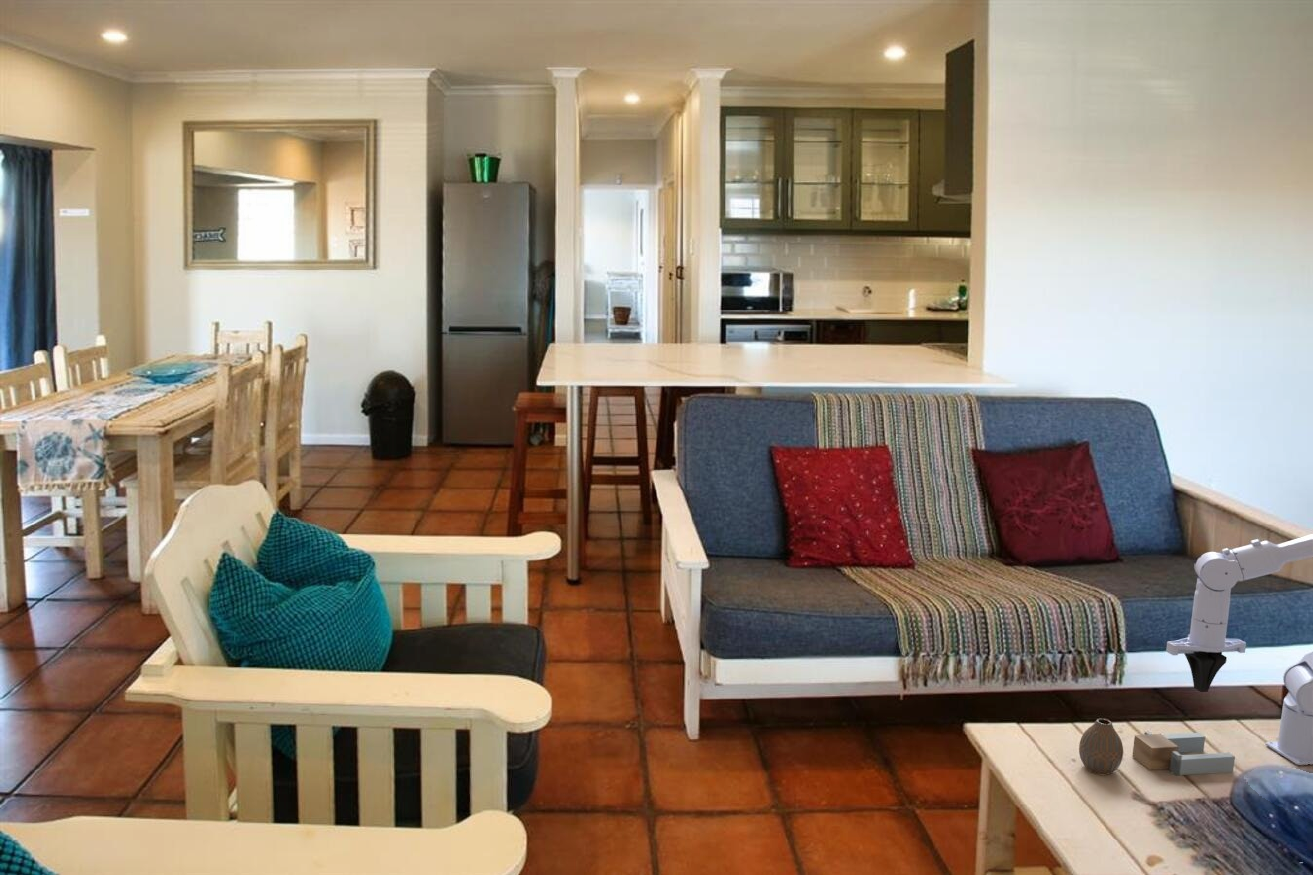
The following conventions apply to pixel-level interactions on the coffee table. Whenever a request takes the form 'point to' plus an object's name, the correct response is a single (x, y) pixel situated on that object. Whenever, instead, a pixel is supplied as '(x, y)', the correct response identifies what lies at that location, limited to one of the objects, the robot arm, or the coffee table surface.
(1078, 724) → the coffee table surface
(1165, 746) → the walnut block
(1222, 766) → the pair of lipped bars
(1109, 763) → the vase
